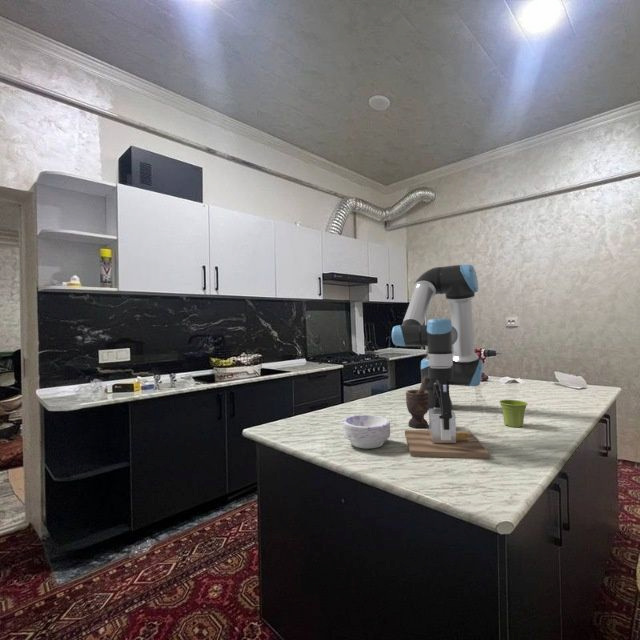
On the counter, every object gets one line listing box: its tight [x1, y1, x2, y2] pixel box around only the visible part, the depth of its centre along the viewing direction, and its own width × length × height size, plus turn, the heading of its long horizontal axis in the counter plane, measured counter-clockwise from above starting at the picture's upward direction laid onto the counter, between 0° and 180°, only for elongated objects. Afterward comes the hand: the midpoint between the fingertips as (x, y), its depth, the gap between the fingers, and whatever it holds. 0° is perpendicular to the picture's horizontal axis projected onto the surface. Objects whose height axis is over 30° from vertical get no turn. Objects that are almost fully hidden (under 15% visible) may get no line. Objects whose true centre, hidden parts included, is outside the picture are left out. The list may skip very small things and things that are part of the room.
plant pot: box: [498, 399, 528, 428], centre depth 138 cm, size 9×9×9 cm
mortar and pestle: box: [405, 375, 431, 429], centre depth 139 cm, size 12×9×20 cm
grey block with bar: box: [428, 409, 467, 443], centre depth 118 cm, size 11×7×9 cm, turn 81°
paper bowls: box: [342, 414, 391, 450], centre depth 121 cm, size 15×15×8 cm
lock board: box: [404, 429, 490, 460], centre depth 118 cm, size 22×22×2 cm
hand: (442, 433), depth 118 cm, fingers open, 13 cm apart
